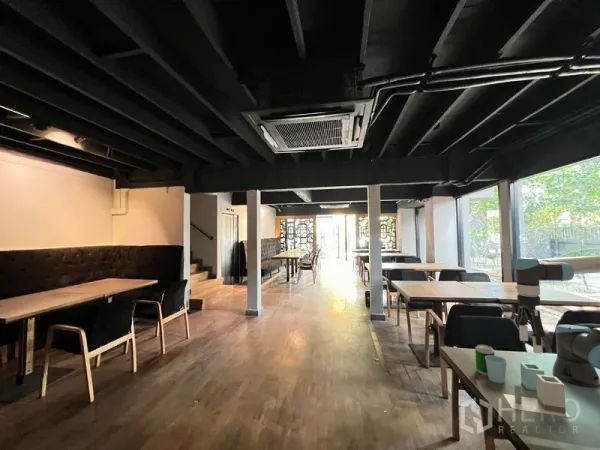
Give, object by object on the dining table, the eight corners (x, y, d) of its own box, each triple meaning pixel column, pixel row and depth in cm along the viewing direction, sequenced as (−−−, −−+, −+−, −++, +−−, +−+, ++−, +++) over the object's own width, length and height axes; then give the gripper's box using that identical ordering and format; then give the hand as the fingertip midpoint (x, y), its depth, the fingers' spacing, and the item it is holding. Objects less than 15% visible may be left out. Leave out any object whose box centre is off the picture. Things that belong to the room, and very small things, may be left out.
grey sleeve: (557, 404, 106) (555, 376, 107) (565, 413, 101) (564, 384, 101) (537, 401, 108) (536, 374, 109) (544, 410, 103) (543, 382, 103)
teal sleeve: (538, 388, 120) (537, 364, 120) (545, 396, 114) (544, 370, 114) (521, 386, 122) (520, 362, 122) (527, 393, 116) (526, 368, 116)
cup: (508, 389, 119) (507, 364, 120) (486, 385, 123) (485, 360, 124) (506, 381, 126) (505, 357, 126) (485, 377, 130) (484, 354, 130)
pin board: (556, 405, 108) (555, 385, 108) (571, 421, 99) (569, 399, 99) (503, 397, 114) (502, 378, 114) (512, 412, 104) (511, 391, 105)
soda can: (498, 377, 129) (497, 350, 130) (480, 376, 131) (479, 349, 131) (490, 369, 137) (489, 344, 137) (473, 368, 138) (472, 343, 139)
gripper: (507, 288, 132) (509, 335, 132) (530, 300, 109) (532, 357, 108) (526, 289, 130) (528, 337, 129) (554, 302, 106) (557, 360, 106)
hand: (530, 346), depth 119 cm, fingers open, 13 cm apart
